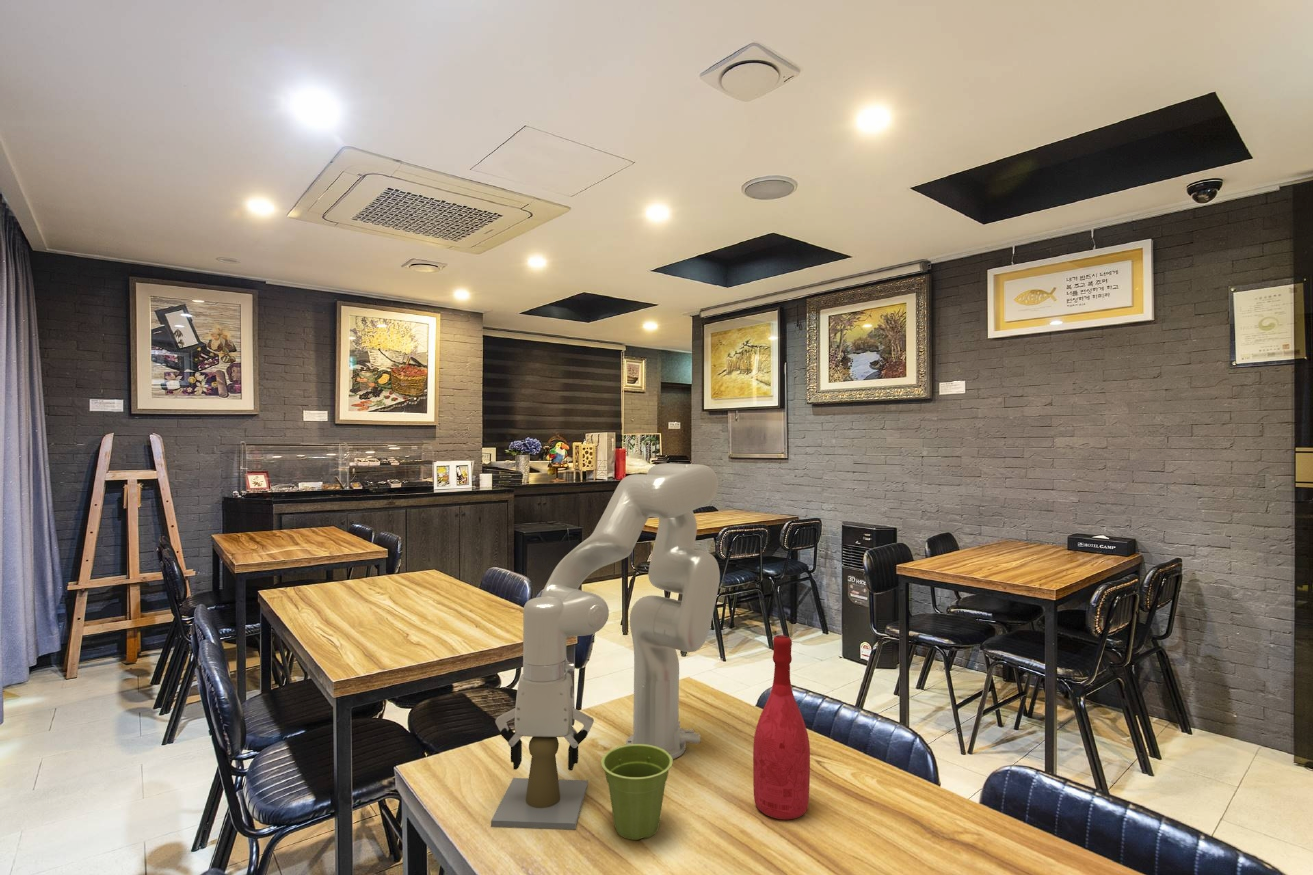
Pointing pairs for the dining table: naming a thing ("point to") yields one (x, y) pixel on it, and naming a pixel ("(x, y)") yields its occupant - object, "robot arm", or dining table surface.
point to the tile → (554, 817)
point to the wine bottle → (781, 746)
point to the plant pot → (636, 787)
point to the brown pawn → (543, 773)
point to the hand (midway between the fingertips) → (544, 766)
